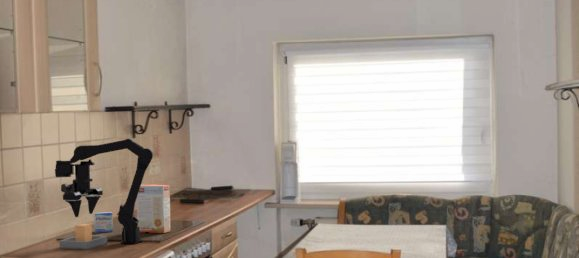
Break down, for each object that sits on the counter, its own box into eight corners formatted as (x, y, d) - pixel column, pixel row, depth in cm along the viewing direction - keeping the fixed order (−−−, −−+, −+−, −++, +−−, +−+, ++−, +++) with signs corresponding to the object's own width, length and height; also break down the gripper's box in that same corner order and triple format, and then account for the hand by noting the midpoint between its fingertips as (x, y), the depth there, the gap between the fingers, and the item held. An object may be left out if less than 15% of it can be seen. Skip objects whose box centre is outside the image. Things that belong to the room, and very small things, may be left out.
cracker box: (171, 231, 314) (170, 184, 314) (164, 233, 309) (162, 185, 308) (144, 230, 320) (143, 183, 319) (136, 232, 314) (135, 185, 314)
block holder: (107, 243, 288) (107, 236, 288) (87, 249, 276) (86, 242, 276) (80, 242, 293) (80, 234, 293) (59, 248, 281) (59, 240, 281)
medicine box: (94, 233, 315) (94, 213, 314) (94, 231, 319) (94, 212, 319) (113, 231, 317) (112, 212, 317) (112, 230, 321) (112, 211, 321)
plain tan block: (92, 243, 286) (91, 224, 285) (85, 245, 281) (84, 225, 281) (82, 243, 287) (82, 223, 287) (75, 245, 283) (75, 225, 283)
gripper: (80, 174, 297) (81, 211, 297) (50, 178, 280) (52, 218, 280) (102, 174, 293) (103, 212, 294) (74, 179, 276) (75, 219, 276)
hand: (83, 215), depth 286 cm, fingers open, 9 cm apart
